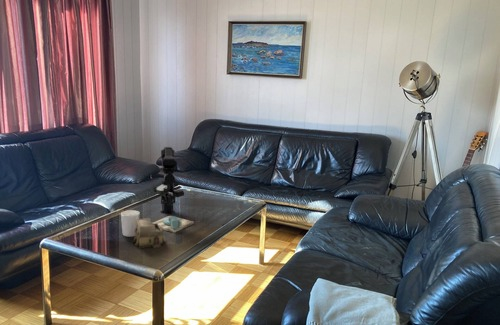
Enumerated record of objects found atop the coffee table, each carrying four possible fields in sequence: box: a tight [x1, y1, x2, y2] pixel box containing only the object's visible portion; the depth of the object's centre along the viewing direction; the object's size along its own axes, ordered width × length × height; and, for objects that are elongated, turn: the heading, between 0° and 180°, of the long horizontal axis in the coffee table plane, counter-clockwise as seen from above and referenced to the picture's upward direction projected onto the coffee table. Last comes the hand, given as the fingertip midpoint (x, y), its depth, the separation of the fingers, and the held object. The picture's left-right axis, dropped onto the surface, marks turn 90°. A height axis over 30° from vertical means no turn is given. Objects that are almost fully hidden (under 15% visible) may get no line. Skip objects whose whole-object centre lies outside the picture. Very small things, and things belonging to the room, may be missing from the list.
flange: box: [163, 215, 181, 229], centre depth 232 cm, size 16×10×5 cm, turn 21°
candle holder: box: [120, 209, 141, 238], centre depth 218 cm, size 10×10×12 cm
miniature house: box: [132, 217, 165, 249], centre depth 208 cm, size 15×14×11 cm
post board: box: [152, 215, 195, 234], centre depth 235 cm, size 18×18×5 cm
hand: (168, 205), depth 235 cm, fingers closed
